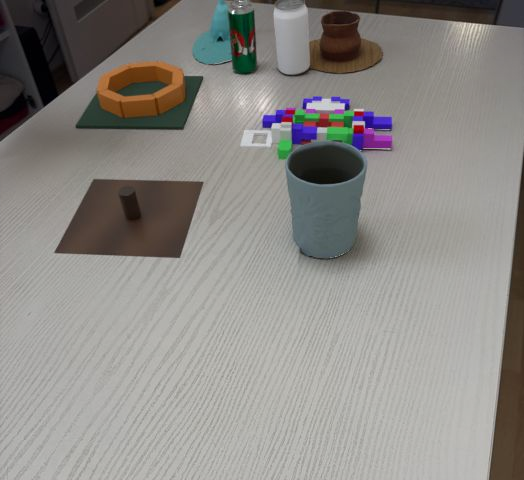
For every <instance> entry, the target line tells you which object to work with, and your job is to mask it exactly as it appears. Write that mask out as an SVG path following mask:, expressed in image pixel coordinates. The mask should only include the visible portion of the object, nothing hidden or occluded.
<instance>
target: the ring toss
mask: <svg viewBox="0 0 524 480" xmlns="http://www.w3.org/2000/svg"><path fill="white" fill-rule="evenodd" d="M204 182H205V181H197V180H156V179H155V180H153V179H150V180H149V179H115V178H114V179H109V178H107V179H106V178H93V179H92V181H91V183H90V185H89V187H88V189H86V192H85V193H84V196H83V198H82V199H81V201H80V204H79V205H78V207H77V209H76V211H75V212H74V214H73V216H72V218H71V220H70V222H69V224H68V226H67V227H66V229H65V231H64V233H63V236H62V237H61V239H60V241H59V242H58V245H57V246H56V247H55V249H54V254H62V255H63V254H64V255H65V254H66V255H89V256H92V255H93V256H116V257H117V256H118V257H141V258H164V259H165V258H166V259H167V258H168V259H180V258H181V256H182V253H183V250H184V247H185V243H186V240H187V237H188V233H189V230H190V227H191V223H192V221H193V218H194V214H195V211H196V208H197V204H198V202H199V199H200V196H201V192H202V190H203V185H204Z"/></svg>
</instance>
